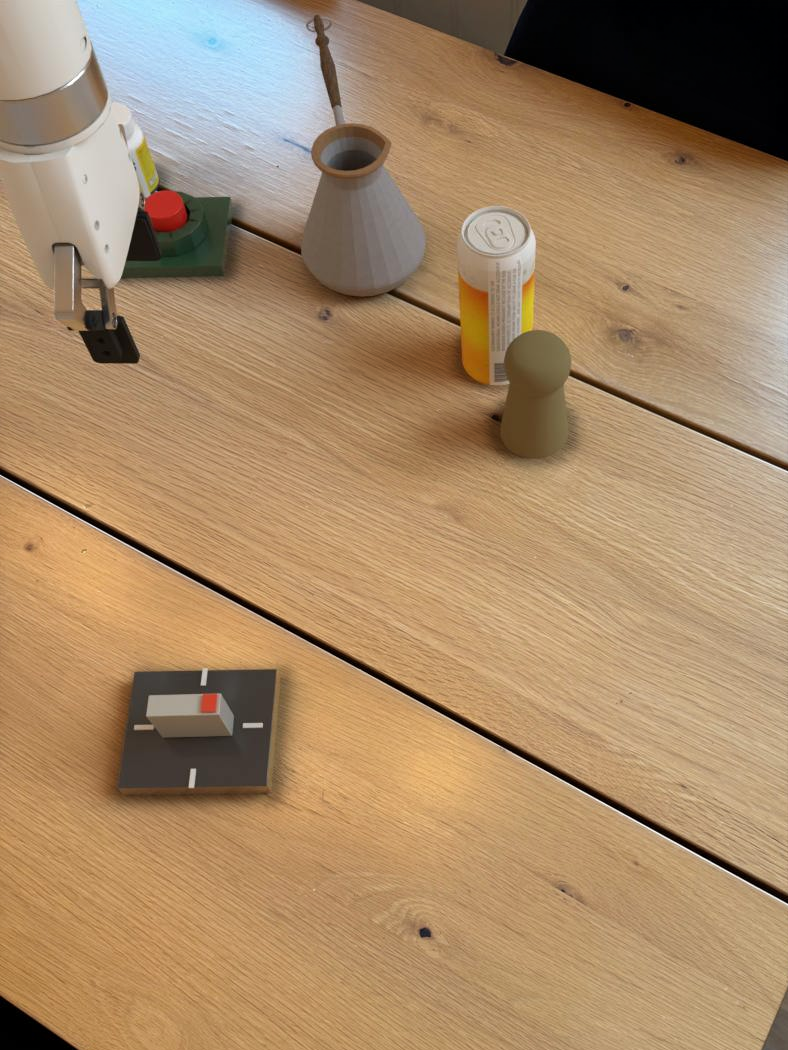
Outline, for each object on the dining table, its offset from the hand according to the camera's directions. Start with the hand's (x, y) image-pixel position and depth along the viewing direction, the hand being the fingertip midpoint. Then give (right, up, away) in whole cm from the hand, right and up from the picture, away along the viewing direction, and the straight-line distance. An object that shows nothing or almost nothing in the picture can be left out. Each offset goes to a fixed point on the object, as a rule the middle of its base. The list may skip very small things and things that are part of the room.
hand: (130, 307), depth 75 cm
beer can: (+27, 0, +18) cm, 32 cm away
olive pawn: (+30, -7, +14) cm, 34 cm away
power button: (-4, +15, +22) cm, 27 cm away
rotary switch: (+5, -31, +2) cm, 32 cm away
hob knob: (+5, -30, 0) cm, 30 cm away
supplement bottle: (-9, +20, +29) cm, 36 cm away
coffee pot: (+13, +15, +26) cm, 33 cm away
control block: (-4, +13, +25) cm, 29 cm away
